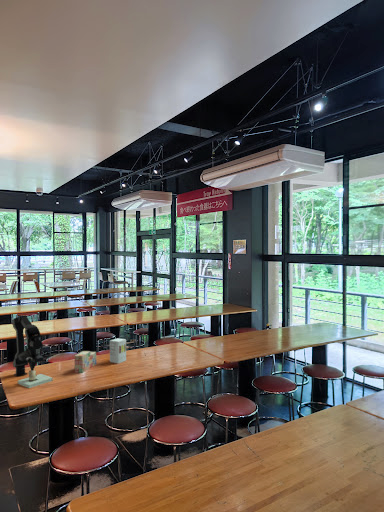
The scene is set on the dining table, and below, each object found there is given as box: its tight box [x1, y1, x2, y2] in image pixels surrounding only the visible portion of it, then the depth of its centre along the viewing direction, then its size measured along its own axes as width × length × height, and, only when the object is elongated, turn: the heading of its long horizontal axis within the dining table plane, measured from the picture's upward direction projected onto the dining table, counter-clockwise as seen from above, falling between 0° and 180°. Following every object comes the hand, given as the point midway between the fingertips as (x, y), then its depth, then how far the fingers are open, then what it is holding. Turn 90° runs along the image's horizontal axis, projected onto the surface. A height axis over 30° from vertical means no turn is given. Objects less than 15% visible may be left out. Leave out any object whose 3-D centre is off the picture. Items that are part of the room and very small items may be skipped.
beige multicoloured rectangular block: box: [74, 350, 97, 374], centre depth 255 cm, size 21×6×12 cm, turn 169°
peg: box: [28, 369, 37, 382], centre depth 225 cm, size 4×4×8 cm
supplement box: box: [109, 337, 127, 364], centre depth 271 cm, size 10×9×17 cm
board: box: [17, 373, 53, 389], centre depth 227 cm, size 14×16×2 cm
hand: (32, 370), depth 225 cm, fingers closed
